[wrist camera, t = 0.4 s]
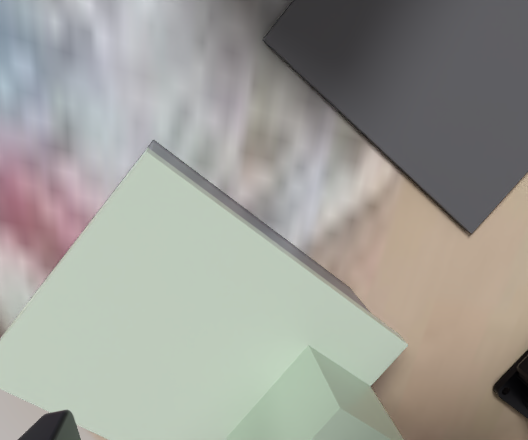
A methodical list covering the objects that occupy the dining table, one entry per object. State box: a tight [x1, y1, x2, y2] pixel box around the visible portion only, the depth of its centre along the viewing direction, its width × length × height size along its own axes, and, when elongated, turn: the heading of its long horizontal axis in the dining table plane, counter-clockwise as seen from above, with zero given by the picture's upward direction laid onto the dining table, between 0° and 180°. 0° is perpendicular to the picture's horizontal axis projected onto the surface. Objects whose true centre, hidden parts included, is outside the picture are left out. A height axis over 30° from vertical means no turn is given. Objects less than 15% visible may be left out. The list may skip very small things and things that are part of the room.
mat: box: [263, 0, 528, 234], centre depth 21 cm, size 14×11×1 cm
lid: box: [0, 148, 408, 440], centre depth 16 cm, size 13×10×5 cm
